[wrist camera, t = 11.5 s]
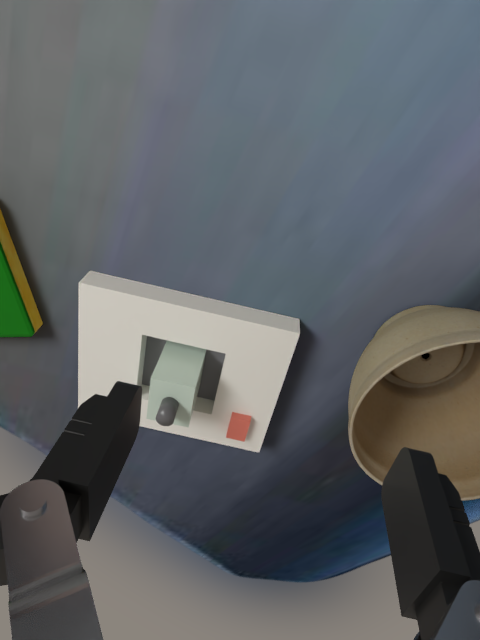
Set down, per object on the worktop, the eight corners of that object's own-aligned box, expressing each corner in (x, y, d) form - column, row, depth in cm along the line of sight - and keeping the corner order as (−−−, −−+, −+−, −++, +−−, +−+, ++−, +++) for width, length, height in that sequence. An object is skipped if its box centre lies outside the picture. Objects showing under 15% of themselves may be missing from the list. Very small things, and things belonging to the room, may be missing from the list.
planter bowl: (404, 433, 46) (433, 527, 37) (301, 345, 41) (304, 426, 32) (551, 349, 39) (632, 439, 30) (446, 231, 34) (504, 293, 25)
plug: (206, 348, 42) (191, 403, 35) (199, 385, 45) (184, 443, 38) (167, 339, 42) (144, 393, 35) (162, 377, 45) (140, 434, 38)
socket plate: (299, 319, 40) (300, 338, 37) (260, 435, 48) (258, 458, 46) (90, 270, 39) (74, 286, 37) (87, 396, 48) (74, 417, 45)
